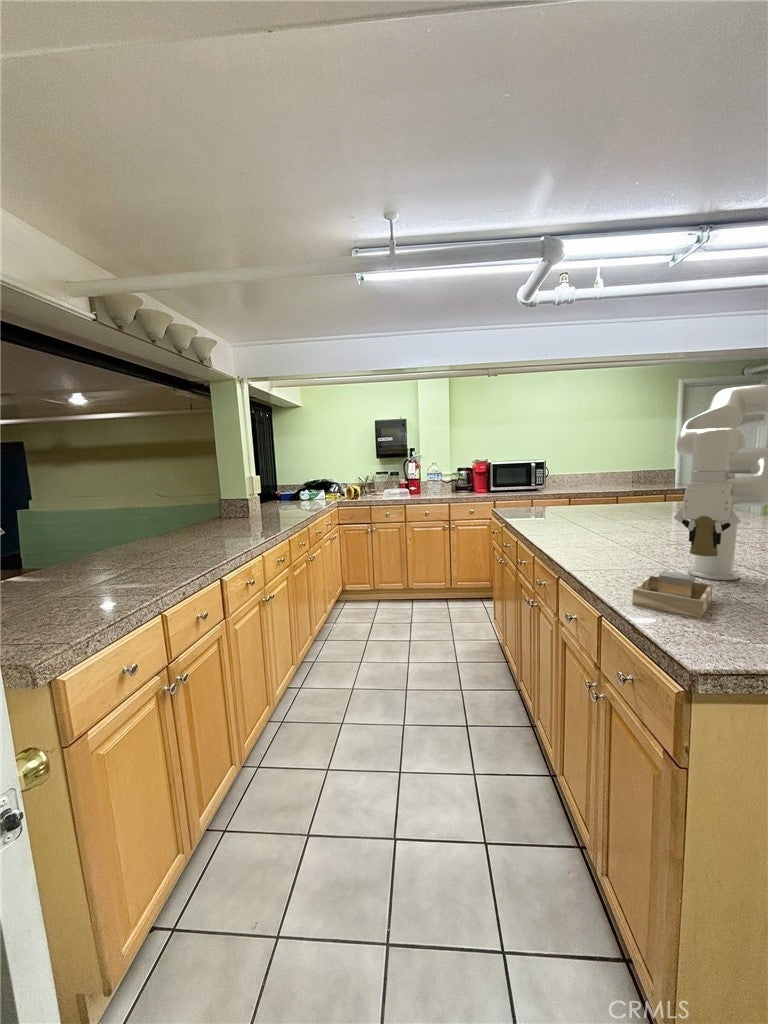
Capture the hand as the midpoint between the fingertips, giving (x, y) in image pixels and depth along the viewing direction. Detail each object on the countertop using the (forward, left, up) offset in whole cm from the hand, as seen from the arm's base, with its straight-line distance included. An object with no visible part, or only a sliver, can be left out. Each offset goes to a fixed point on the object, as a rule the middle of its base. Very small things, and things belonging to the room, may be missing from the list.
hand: (704, 544), depth 110 cm
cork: (0, 0, -3) cm, 3 cm away
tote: (+14, -4, -14) cm, 20 cm away
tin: (+10, -4, -13) cm, 17 cm away
